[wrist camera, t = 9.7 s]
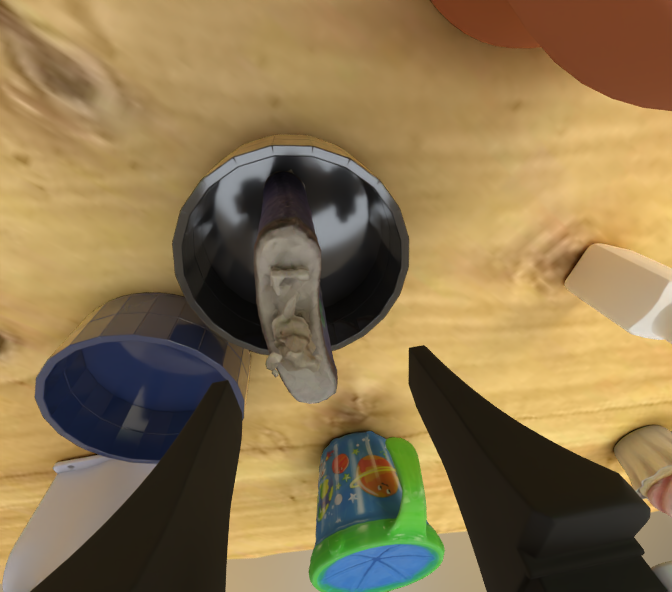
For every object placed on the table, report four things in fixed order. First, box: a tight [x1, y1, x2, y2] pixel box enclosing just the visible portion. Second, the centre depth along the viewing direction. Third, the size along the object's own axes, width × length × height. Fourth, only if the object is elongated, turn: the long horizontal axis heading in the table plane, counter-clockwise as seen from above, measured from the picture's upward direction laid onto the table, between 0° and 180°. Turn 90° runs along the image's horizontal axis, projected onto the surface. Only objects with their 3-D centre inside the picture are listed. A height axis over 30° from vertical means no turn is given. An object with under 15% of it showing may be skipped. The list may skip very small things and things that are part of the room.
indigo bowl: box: [35, 293, 251, 464], centre depth 22 cm, size 12×12×4 cm
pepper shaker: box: [564, 243, 672, 344], centre depth 21 cm, size 4×4×10 cm
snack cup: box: [309, 431, 445, 592], centre depth 29 cm, size 16×10×10 cm
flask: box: [254, 169, 338, 404], centre depth 16 cm, size 9×3×11 cm, turn 6°
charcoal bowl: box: [172, 134, 409, 355], centre depth 19 cm, size 12×12×4 cm
